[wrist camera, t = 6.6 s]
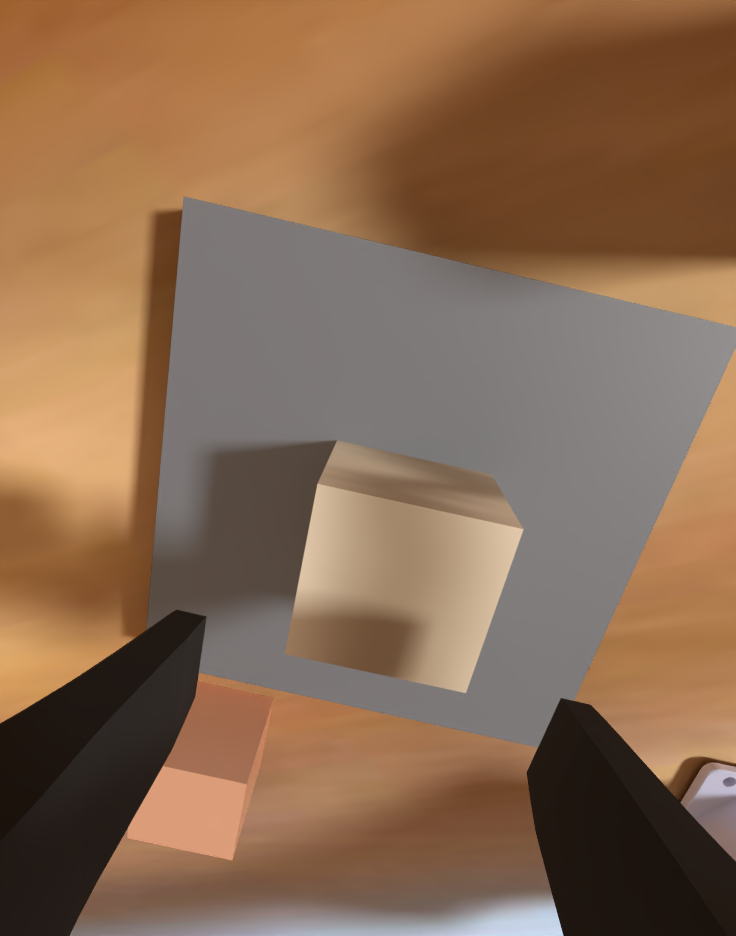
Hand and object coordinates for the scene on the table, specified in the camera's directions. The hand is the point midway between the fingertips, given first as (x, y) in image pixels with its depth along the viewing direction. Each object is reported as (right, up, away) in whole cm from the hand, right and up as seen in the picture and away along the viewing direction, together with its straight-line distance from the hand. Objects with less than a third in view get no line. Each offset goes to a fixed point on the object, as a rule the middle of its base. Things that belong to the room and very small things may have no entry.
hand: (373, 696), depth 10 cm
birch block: (+1, +3, +6) cm, 7 cm away
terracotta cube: (-6, -7, +12) cm, 15 cm away
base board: (+1, +3, +8) cm, 8 cm away
